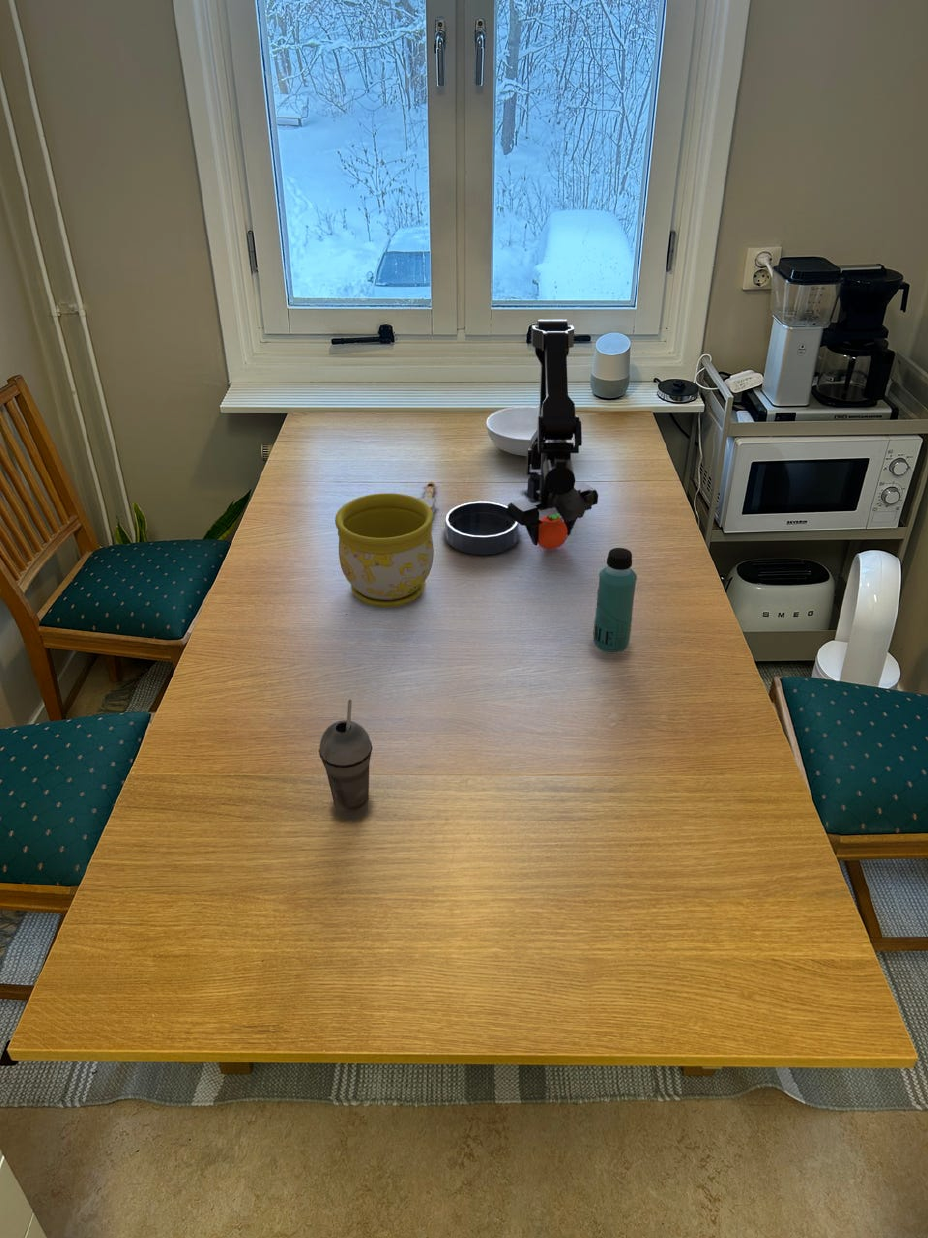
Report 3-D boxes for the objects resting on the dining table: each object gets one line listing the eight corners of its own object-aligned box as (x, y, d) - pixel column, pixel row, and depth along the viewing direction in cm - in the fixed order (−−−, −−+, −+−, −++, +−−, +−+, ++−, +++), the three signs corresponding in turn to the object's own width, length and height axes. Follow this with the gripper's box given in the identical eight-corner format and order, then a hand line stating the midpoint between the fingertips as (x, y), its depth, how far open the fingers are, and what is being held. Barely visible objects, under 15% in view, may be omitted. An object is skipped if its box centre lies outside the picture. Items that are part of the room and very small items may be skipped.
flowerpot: (322, 591, 178) (314, 516, 168) (390, 555, 188) (386, 483, 179) (386, 628, 168) (381, 551, 158) (454, 588, 178) (453, 513, 169)
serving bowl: (573, 466, 222) (574, 439, 218) (486, 466, 222) (486, 439, 218) (566, 430, 239) (567, 405, 235) (485, 430, 239) (485, 405, 235)
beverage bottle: (632, 642, 164) (644, 545, 152) (624, 664, 159) (636, 565, 147) (596, 635, 166) (605, 539, 154) (587, 656, 161) (596, 558, 149)
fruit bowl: (493, 513, 203) (493, 495, 200) (531, 543, 192) (532, 524, 190) (433, 531, 197) (432, 512, 194) (469, 563, 186) (469, 544, 183)
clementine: (551, 533, 195) (553, 503, 191) (576, 545, 191) (579, 514, 187) (525, 546, 190) (527, 516, 186) (551, 559, 186) (553, 528, 182)
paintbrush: (411, 517, 195) (423, 479, 212) (412, 529, 196) (423, 489, 213) (429, 518, 195) (440, 479, 211) (430, 530, 196) (440, 490, 213)
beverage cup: (327, 791, 135) (313, 685, 123) (377, 788, 135) (368, 682, 123) (325, 829, 129) (311, 721, 117) (377, 825, 129) (368, 718, 118)
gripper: (539, 499, 171) (535, 570, 180) (618, 475, 179) (611, 544, 188) (506, 475, 179) (504, 545, 188) (584, 454, 187) (578, 521, 196)
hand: (551, 539), depth 190 cm, fingers closed on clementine, 8 cm apart
